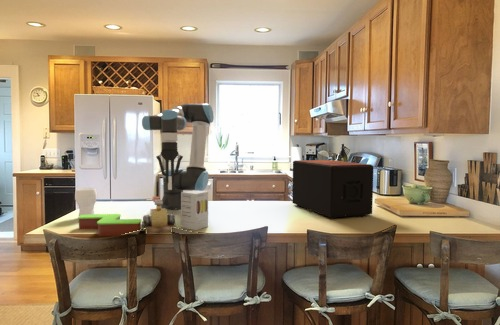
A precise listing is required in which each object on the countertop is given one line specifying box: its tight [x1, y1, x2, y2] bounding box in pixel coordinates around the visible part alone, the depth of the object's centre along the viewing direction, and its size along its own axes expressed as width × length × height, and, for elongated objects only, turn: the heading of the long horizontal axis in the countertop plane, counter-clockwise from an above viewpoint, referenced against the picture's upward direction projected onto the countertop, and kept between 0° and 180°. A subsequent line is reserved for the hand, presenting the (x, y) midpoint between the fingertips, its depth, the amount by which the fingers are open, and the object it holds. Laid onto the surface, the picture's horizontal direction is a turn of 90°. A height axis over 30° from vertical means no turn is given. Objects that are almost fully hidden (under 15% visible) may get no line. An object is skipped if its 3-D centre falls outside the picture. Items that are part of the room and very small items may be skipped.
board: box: [141, 220, 177, 235], centre depth 170 cm, size 14×20×2 cm
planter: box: [77, 213, 142, 237], centre depth 165 cm, size 30×18×6 cm, turn 95°
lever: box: [152, 196, 163, 206], centre depth 174 cm, size 14×4×2 cm, turn 21°
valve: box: [142, 205, 176, 227], centre depth 169 cm, size 14×6×10 cm, turn 110°
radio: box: [292, 159, 374, 220], centre depth 212 cm, size 45×27×28 cm, turn 20°
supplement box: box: [180, 190, 209, 231], centre depth 171 cm, size 10×9×17 cm
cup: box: [74, 187, 98, 217], centre depth 190 cm, size 11×11×15 cm
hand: (169, 189), depth 180 cm, fingers closed
